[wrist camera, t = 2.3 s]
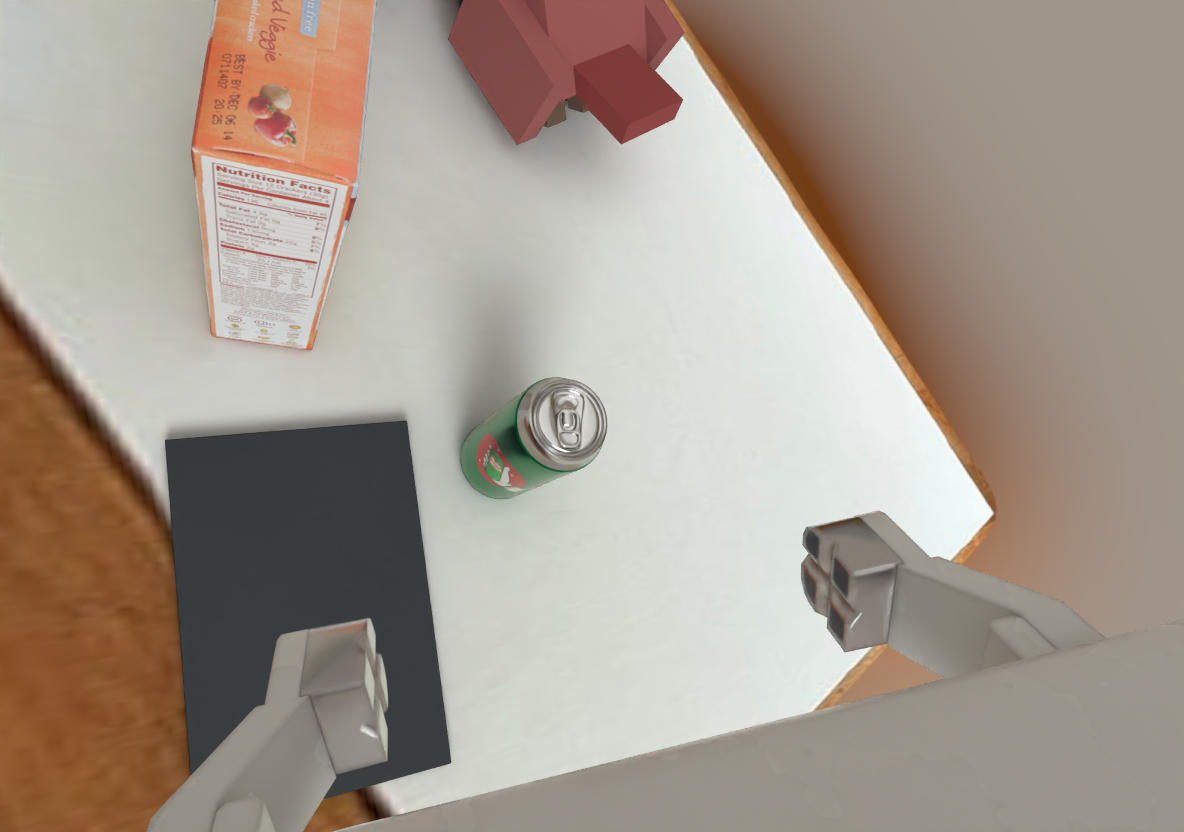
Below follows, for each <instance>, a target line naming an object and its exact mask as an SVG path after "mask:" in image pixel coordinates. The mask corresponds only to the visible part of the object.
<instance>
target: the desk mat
mask: <svg viewBox="0 0 1184 832" xmlns="http://www.w3.org/2000/svg"><path fill="white" fill-rule="evenodd" d="M165 446H166V459H167V472H168V485H169V498H170V511H171V525H172V538H173V551H174V564H175V577H176V590H177V604H178V617H179V630H180V643H181V656H182V669H183V683H184V696H185V709H186V722H187V735H188V748H189V762H190V775H192V774H193V773H194V772H195V771H196V770H197V769H198V767H199V766H200V765H201V764H202V763H203V762H204V761H205V760H206V759H207V758H208V757H209V756H210V755H211V754H212V753H213V752H214V751H215V749H216V748H217V747H218V746H219V745H220V744H221V743H222V742H223V741H224V740H225V739H226V738H227V737H228V736H229V735H230V734H231V732H232V731H233V730H234V729H235V728H236V727H237V726H238V725H239V724H240V723H241V722H242V721H243V720H244V719H245V718H246V717H247V715H248V714H249V713H250V712H251V711H252V710H253V709H254V708H255V707H257V706H261V705H264V704H265V699H266V694H267V689H268V684H269V678H270V673H271V668H272V663H273V658H274V653H275V648H276V643H277V640H278V638H279V637H280V635H281V634H286V633H291V632H296V631H301V630H306V629H311V628H315V627H321V626H326V625H332V624H337V623H342V622H348V621H353V620H359V619H364V618H370V620H371V621H372V624H373V628H374V631H375V634H376V647H375V651H377V652H378V653H380V654H381V656H382V660H383V664H384V669H385V674H386V681H387V692H388V709H387V710H386V712H385V713H384V717H385V721H386V725H387V728H388V744H387V761H385V762H381V763H378V764H374V765H370V766H366V767H363V768H359V769H355V770H351V771H348V772H344V773H340V774H336V775H335V776H336V779H335V780H334V782H333V783H332V785H331V787H330V788H329V790H328V792H327V793H326V795H325V796H324V798H323V799H325V798H329V797H332V796H336V795H339V794H343V793H347V792H350V791H354V790H357V789H361V788H364V787H368V786H372V785H375V784H379V783H382V782H386V781H389V780H393V779H396V778H400V777H404V776H407V775H411V774H414V773H418V772H421V771H425V770H429V769H432V768H436V767H439V766H443V765H446V764H450V763H451V757H450V749H449V742H448V734H447V726H446V719H445V711H444V703H443V696H442V688H441V680H440V673H439V665H438V657H437V650H436V642H435V634H434V627H433V619H432V611H431V604H430V596H429V588H428V581H427V573H426V565H425V557H424V550H423V542H422V534H421V527H420V519H419V511H418V504H417V496H416V488H415V481H414V473H413V465H412V458H411V450H410V442H409V435H408V427H407V421H396V422H383V423H371V424H358V425H346V426H333V427H321V428H308V429H296V430H283V431H271V432H258V433H246V434H233V435H221V436H208V437H195V438H183V439H170V440H165Z"/></svg>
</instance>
